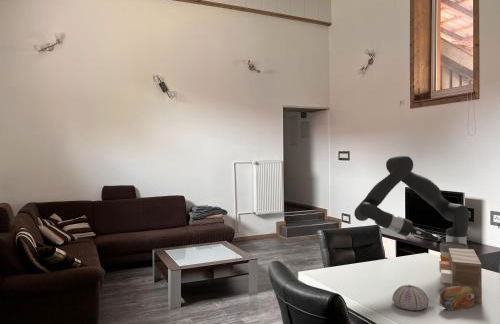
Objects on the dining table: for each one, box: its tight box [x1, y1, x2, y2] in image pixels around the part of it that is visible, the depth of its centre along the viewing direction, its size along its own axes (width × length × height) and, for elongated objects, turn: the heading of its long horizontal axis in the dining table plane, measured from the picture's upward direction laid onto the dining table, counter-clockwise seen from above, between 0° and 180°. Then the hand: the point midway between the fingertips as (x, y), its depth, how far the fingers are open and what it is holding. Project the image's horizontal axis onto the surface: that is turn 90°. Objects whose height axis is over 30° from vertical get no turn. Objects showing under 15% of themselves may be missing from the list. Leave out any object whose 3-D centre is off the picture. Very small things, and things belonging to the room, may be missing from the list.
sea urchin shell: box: [391, 284, 430, 312], centre depth 153 cm, size 13×14×8 cm
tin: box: [439, 285, 476, 312], centre depth 150 cm, size 15×3×8 cm, turn 105°
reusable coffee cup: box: [439, 241, 469, 262], centre depth 189 cm, size 13×13×15 cm
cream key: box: [440, 270, 452, 284], centre depth 163 cm, size 5×7×4 cm
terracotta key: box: [438, 260, 450, 274], centre depth 176 cm, size 5×7×4 cm
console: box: [448, 248, 483, 305], centre depth 166 cm, size 24×10×16 cm, turn 157°
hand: (433, 238), depth 174 cm, fingers open, 8 cm apart
